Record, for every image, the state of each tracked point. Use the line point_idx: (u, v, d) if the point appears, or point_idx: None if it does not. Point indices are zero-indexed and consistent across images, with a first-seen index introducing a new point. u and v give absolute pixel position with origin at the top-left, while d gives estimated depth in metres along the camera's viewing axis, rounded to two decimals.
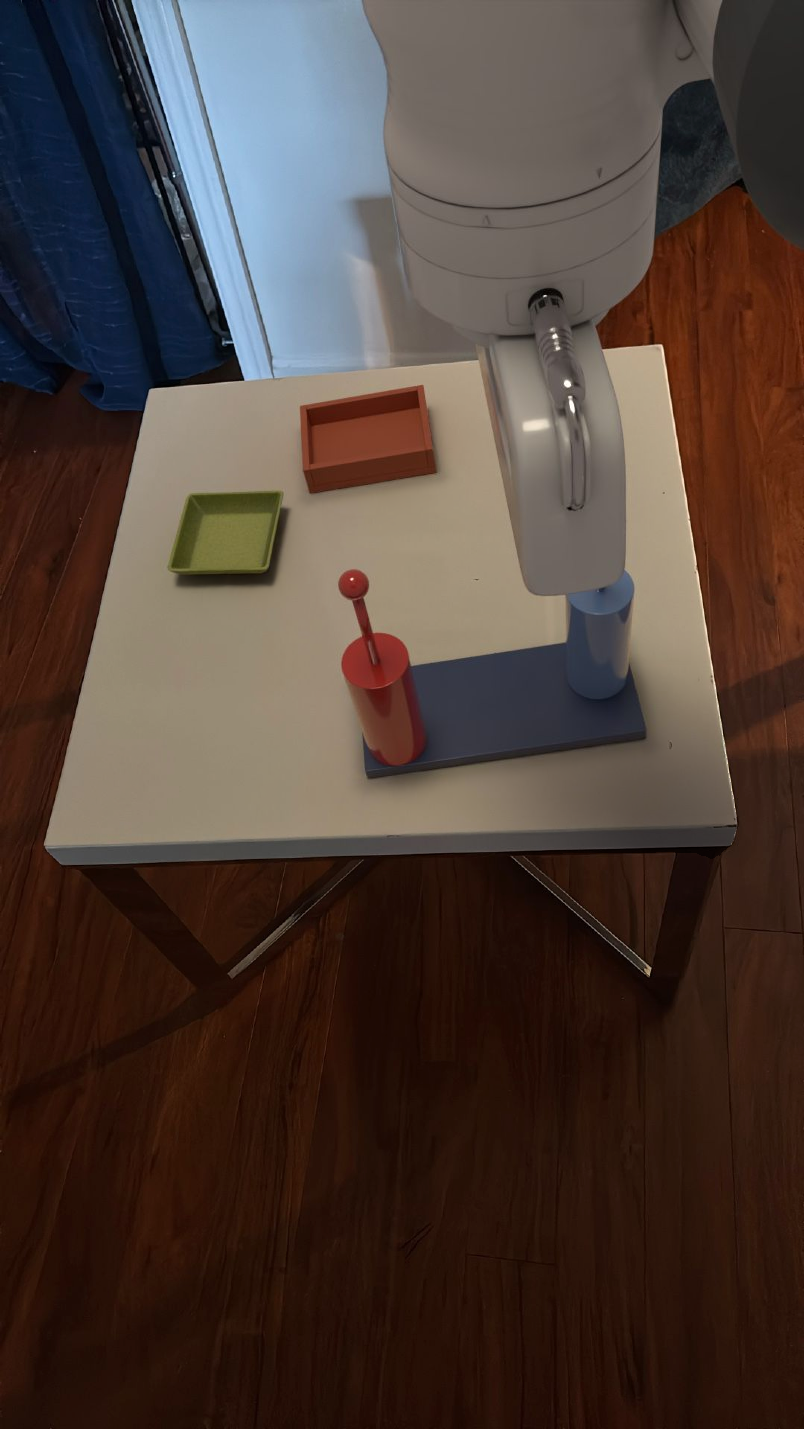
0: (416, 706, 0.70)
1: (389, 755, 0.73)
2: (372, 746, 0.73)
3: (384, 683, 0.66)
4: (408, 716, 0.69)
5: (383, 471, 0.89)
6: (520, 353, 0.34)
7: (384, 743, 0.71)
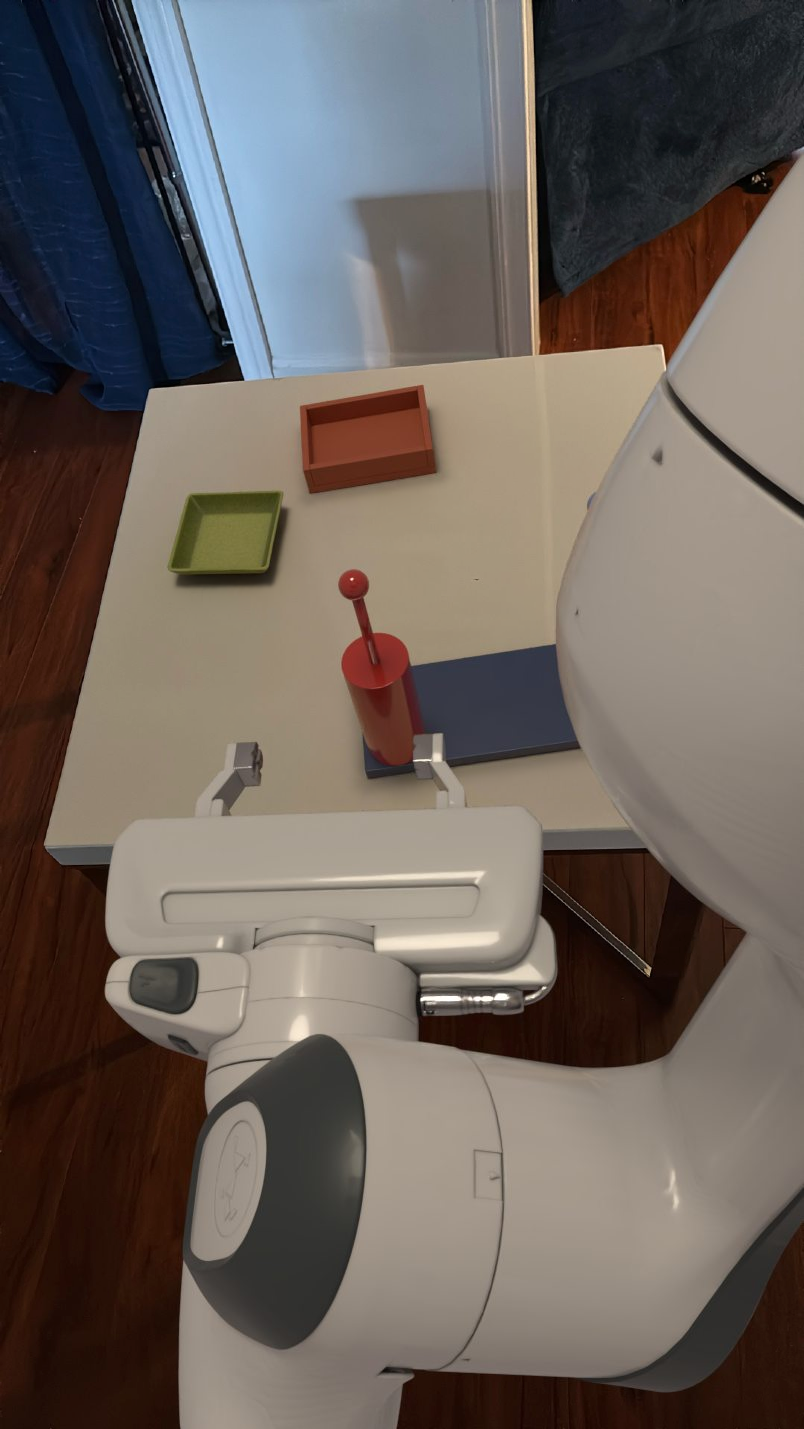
0: (416, 706, 0.70)
1: (389, 755, 0.73)
2: (372, 746, 0.73)
3: (384, 683, 0.66)
4: (408, 716, 0.69)
5: (383, 471, 0.89)
6: None
7: (384, 743, 0.71)
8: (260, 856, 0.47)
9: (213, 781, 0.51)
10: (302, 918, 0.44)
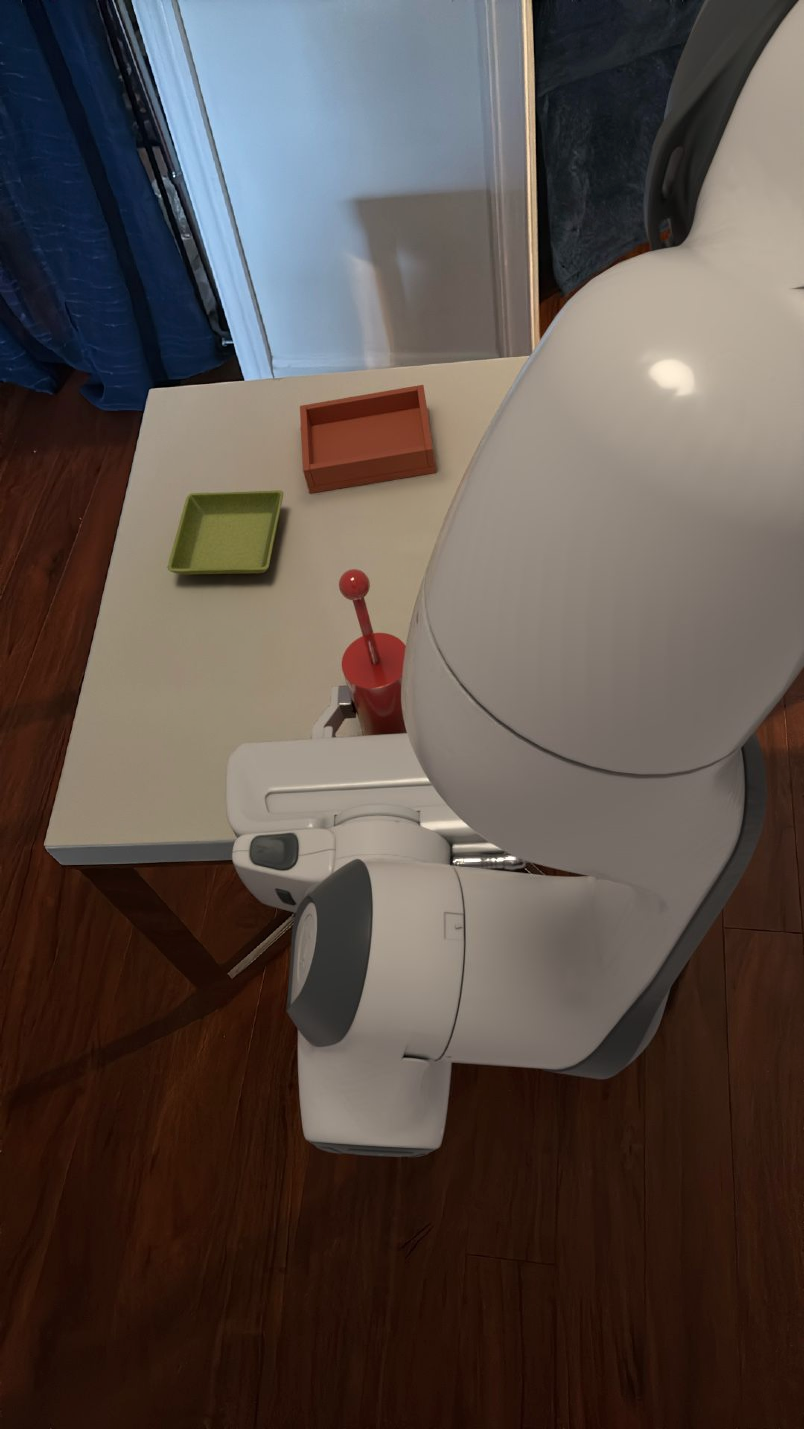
0: None
1: None
2: None
3: (385, 683, 0.66)
4: None
5: (383, 471, 0.89)
6: None
7: None
8: (335, 766, 0.66)
9: (323, 713, 0.69)
10: (369, 805, 0.63)
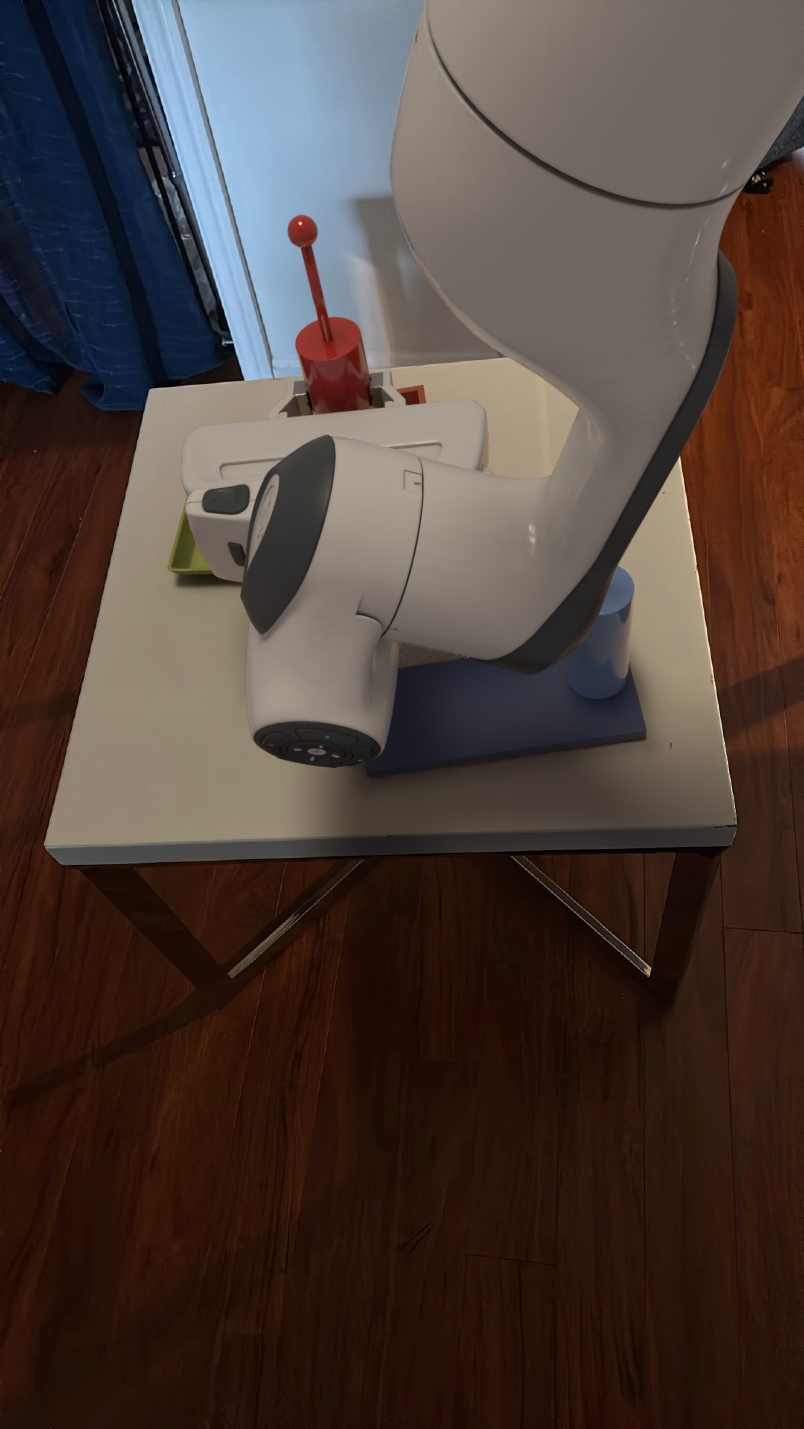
0: (370, 399, 0.71)
1: None
2: None
3: (336, 356, 0.67)
4: (362, 406, 0.71)
5: None
6: None
7: None
8: (288, 439, 0.67)
9: (279, 403, 0.71)
10: None
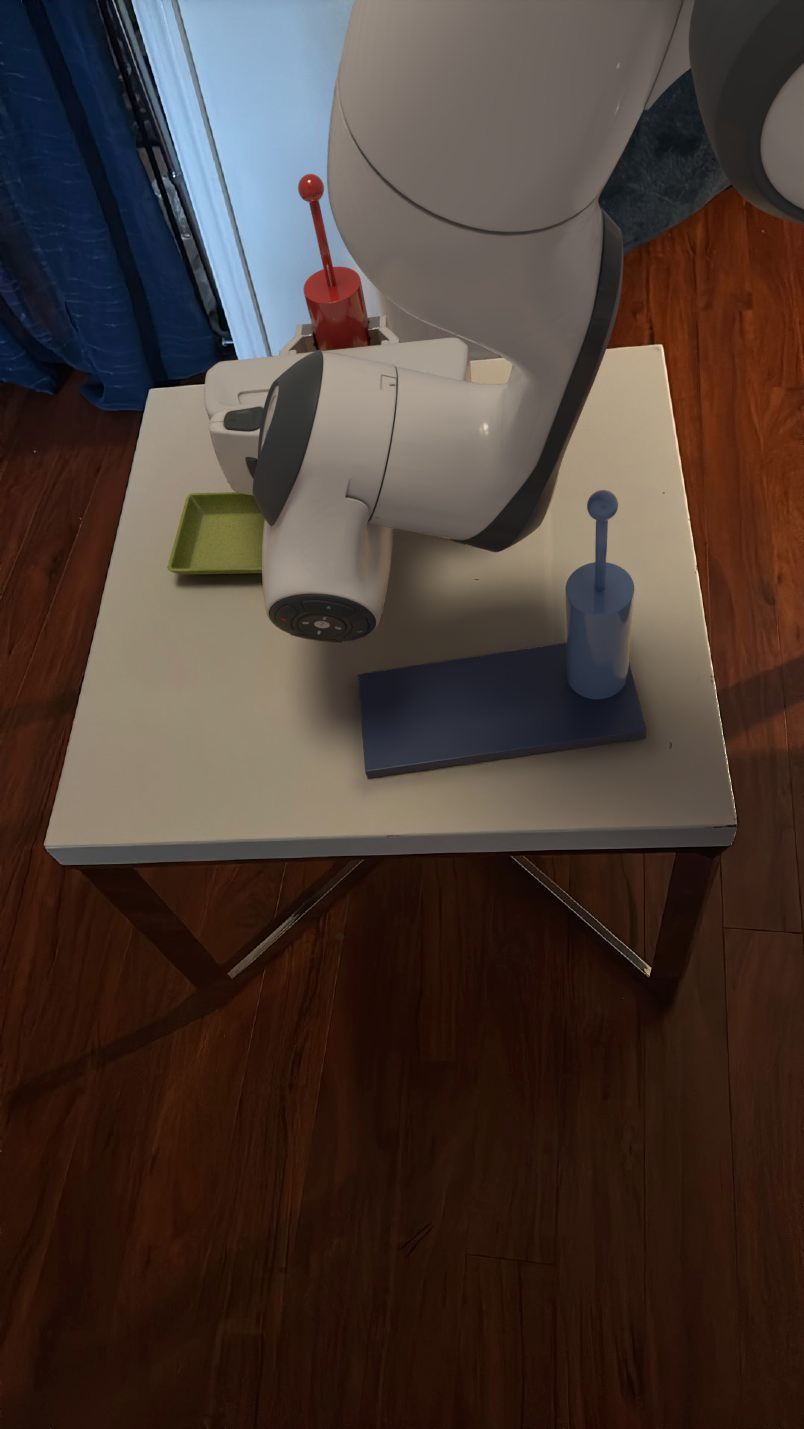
0: (369, 339, 0.82)
1: None
2: None
3: (339, 299, 0.77)
4: (361, 345, 0.81)
5: None
6: None
7: None
8: None
9: (289, 342, 0.81)
10: None
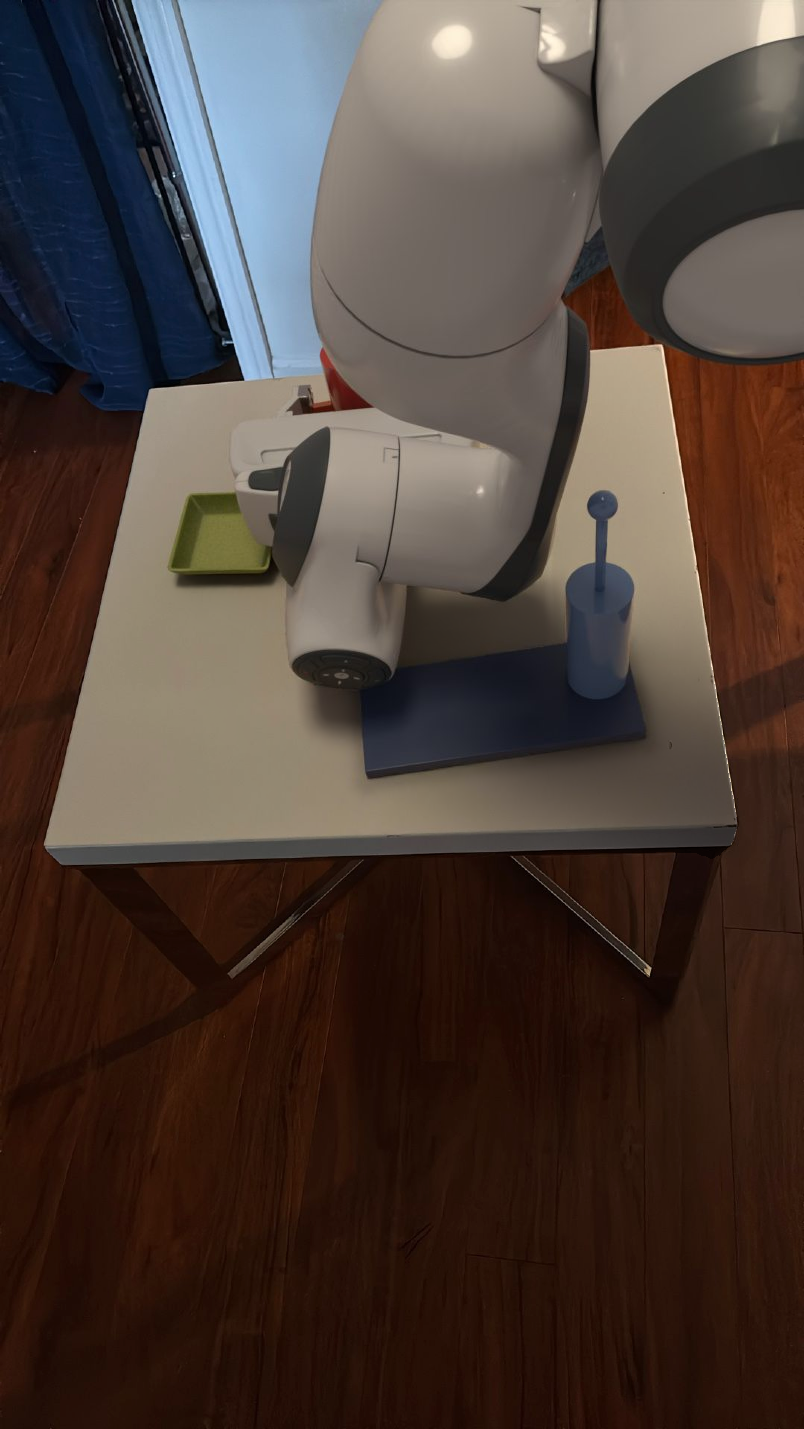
0: None
1: None
2: None
3: None
4: None
5: None
6: None
7: None
8: (316, 430, 0.83)
9: (286, 403, 0.86)
10: None
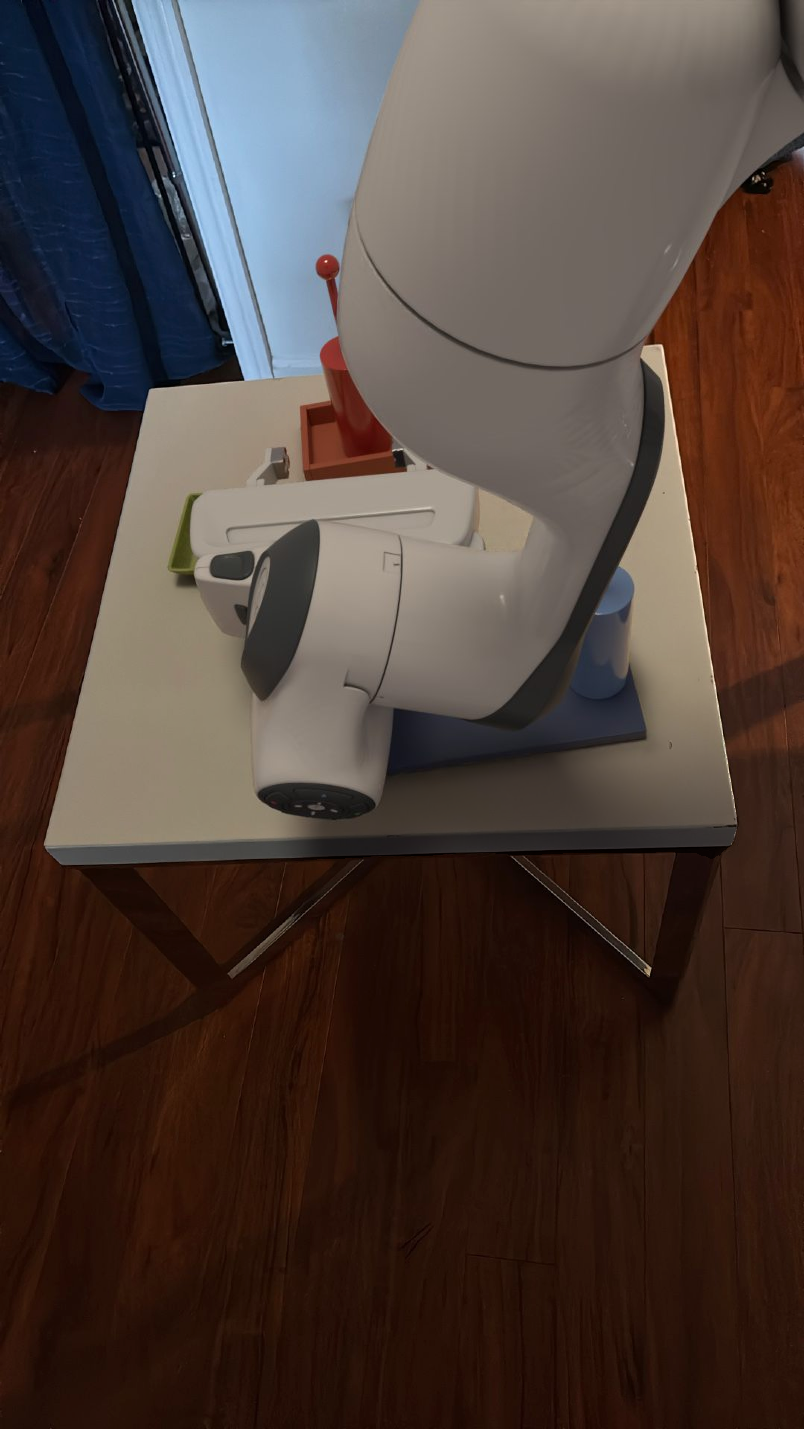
0: None
1: (360, 449, 0.90)
2: (346, 441, 0.90)
3: None
4: None
5: (383, 471, 0.89)
6: None
7: (355, 435, 0.88)
8: (291, 504, 0.72)
9: (257, 469, 0.75)
10: None
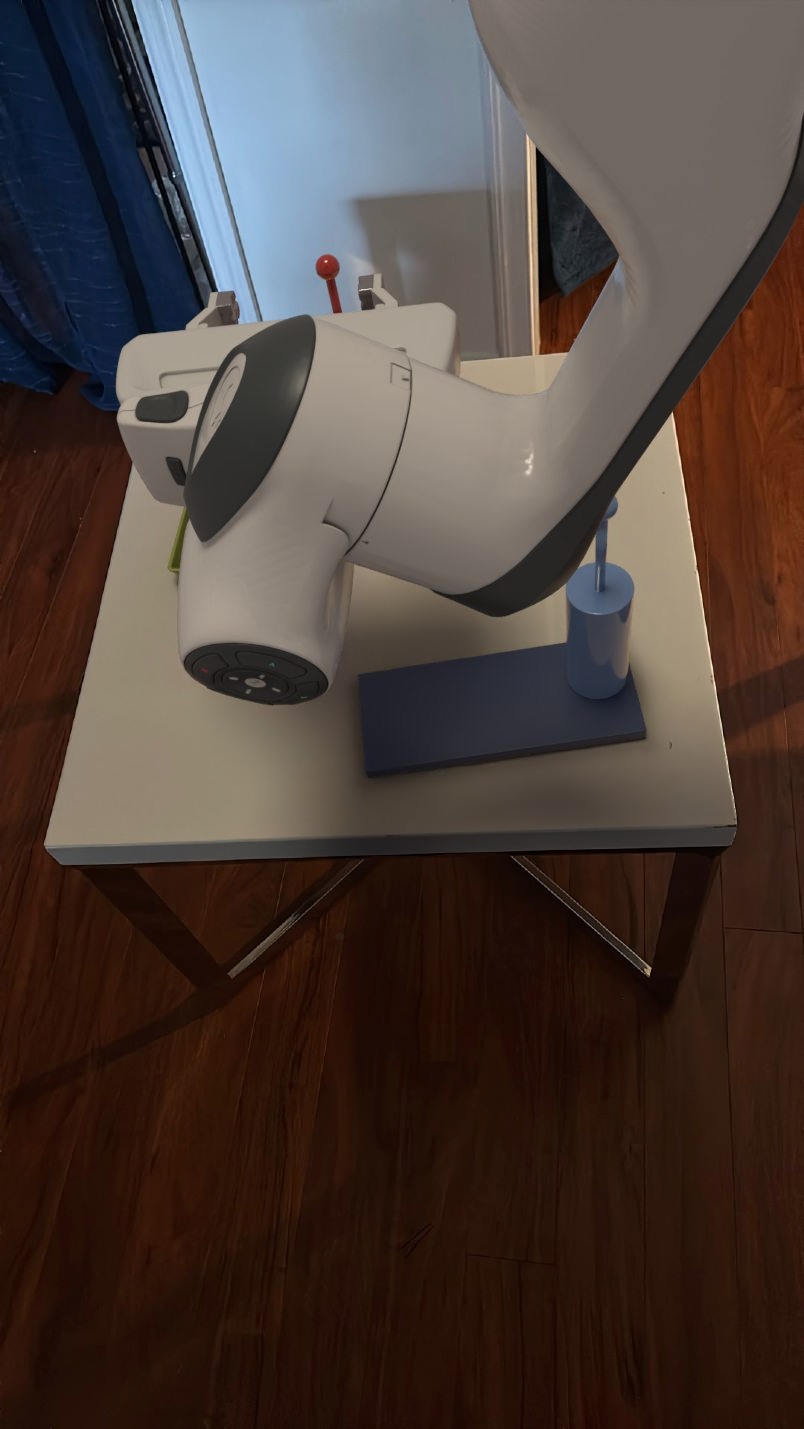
0: None
1: None
2: None
3: None
4: None
5: None
6: None
7: None
8: None
9: (199, 314, 0.64)
10: None
